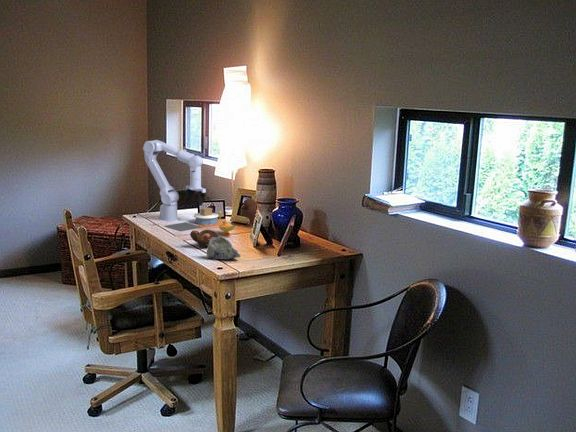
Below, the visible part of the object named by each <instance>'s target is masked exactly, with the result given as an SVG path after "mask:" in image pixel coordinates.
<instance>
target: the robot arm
mask: <svg viewBox="0 0 576 432" xmlns="http://www.w3.org/2000/svg"><path fill="white" fill-rule="evenodd" d="M142 151H143V154H144V156H143V157H144V161H145V163H146V165H147V167H148V168H149V171H150V172H151V175H152V176H153V178H154V180H155V182H156V183H157V186H158V188H159V195H160V200H161V203H162V204H161V205H160V207H159V218H158V220H159V221H165V222H167V223H168V222H169V223H170V222H178V221H181V219H180V218H178V201H179V199H180V195H179V192H178V191H176V190H175V188H174V187H173V186H171V185H170V183H169V181H168V180H167V177H166V175H165V174H164V171H163V170H162V168H161V166H160V164H159V162H158V161H157V157H158V155H159V153H161V152H165V153H168V154H170V155H173V156H175V157H176V159H177V160H178V161H180V162H182V163H185V164H186V165H188V166H189V181H190V182H189V185H185V191H184V192H185V194H186V196H187V199H188V203H189V204H194V201H195V200H194V199H195V198H194V197H195V195H196V197H197V199H196V200H197V206H198V207H200V206H201V207H202V206H203V203H204V199H205V198H206V195H207V191H206V189H207V188H204V187H202V165H203V162H204V161H203V158H202V157H201V156H200V155H195V154H194V153H191V152H188V151H187V149H185V148H184V149H180V150H179V149H177V148H175V147H173V146H171V145H170V144H168V143H167V142H166V143H165V142H164V141H162V140H159V139H154V140H147V141H145V142H144V143H143V147H142Z"/></svg>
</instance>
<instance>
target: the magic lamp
mask: <svg viewBox="0 0 576 432" xmlns="http://www.w3.org/2000/svg"><path fill="white" fill-rule="evenodd" d="M218 213H219V214H218V215H219V216H218V220H219V222H220V223H219V224H221V225H219V227H218V228H219V230H221V231H222V232H223V233H220V236H222V237H223V236H226V237H229V236H230V237H231V236H232V233H231V231H233V230H235V228H237V227H238V226H239V225H238V224H235V225H233V224H230V223H228V221H227V219H224V220H222V217H221V215H222V214H223V212H222V211H221V210H219V211H218Z"/></svg>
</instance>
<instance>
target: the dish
mask: <svg viewBox="0 0 576 432" xmlns="http://www.w3.org/2000/svg"><path fill="white" fill-rule="evenodd" d="M218 220H219V216H218V217H217V218H211V219H201V218H196V217H195V223H196V224H197V225H200V226H212V225H217V224H218Z"/></svg>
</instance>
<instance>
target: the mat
mask: <svg viewBox="0 0 576 432" xmlns="http://www.w3.org/2000/svg"><path fill="white" fill-rule="evenodd" d="M164 227H165V228H168V229H170V230H174V231H178V232H185V231H193V230H197V229H201V228H204V227H203V226H201V225H198V224H197V225H196V224H194V223H190V222H189V223H188V222H187V221H185V222H179V223H173V224H167V225H163V228H164Z"/></svg>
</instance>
